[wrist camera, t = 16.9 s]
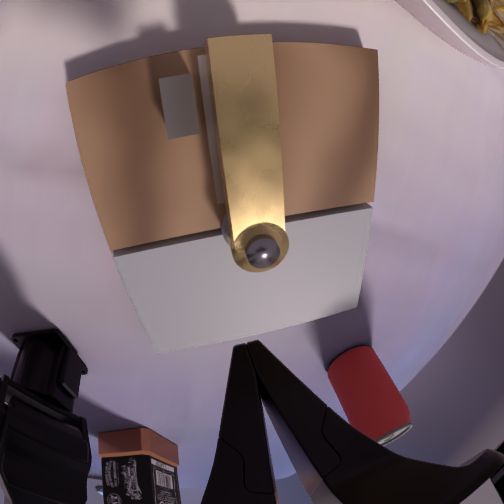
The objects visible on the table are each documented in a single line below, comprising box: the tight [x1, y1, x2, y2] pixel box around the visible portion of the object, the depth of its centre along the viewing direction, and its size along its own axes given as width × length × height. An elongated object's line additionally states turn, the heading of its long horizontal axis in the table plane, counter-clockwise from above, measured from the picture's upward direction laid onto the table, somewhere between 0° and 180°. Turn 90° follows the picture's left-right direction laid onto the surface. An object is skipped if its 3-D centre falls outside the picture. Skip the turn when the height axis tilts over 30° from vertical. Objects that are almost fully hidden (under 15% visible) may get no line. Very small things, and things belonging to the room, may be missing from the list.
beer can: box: [328, 346, 412, 446], centre depth 28 cm, size 7×7×12 cm
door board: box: [66, 42, 379, 251], centre depth 15 cm, size 18×11×4 cm, turn 95°
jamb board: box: [113, 203, 373, 354], centre depth 21 cm, size 18×12×2 cm
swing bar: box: [204, 34, 289, 273], centre depth 14 cm, size 13×3×3 cm, turn 5°
